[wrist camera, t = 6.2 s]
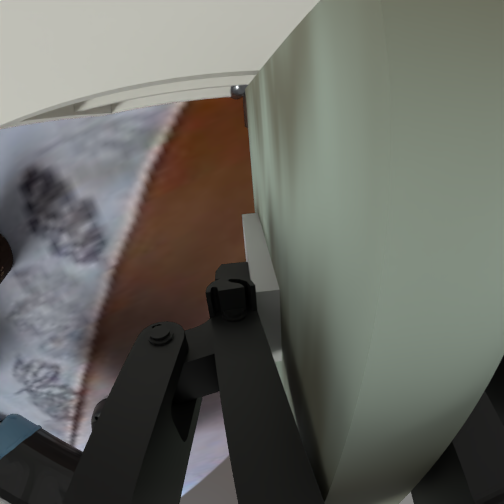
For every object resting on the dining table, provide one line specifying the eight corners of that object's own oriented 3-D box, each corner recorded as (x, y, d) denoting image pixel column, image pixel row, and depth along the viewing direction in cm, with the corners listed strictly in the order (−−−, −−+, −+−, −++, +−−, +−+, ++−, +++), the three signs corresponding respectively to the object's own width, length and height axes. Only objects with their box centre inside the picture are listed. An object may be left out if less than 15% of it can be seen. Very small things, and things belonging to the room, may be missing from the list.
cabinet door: (307, 324, 20) (375, 537, 7) (263, 329, 20) (301, 554, 7) (302, 86, 14) (583, 55, 1) (245, 89, 14) (371, -49, 1)
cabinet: (288, 94, 27) (370, 74, 11) (102, 115, 26) (-18, 133, 10) (280, -7, 23) (339, -109, 6) (98, 16, 22) (-7, -44, 5)
